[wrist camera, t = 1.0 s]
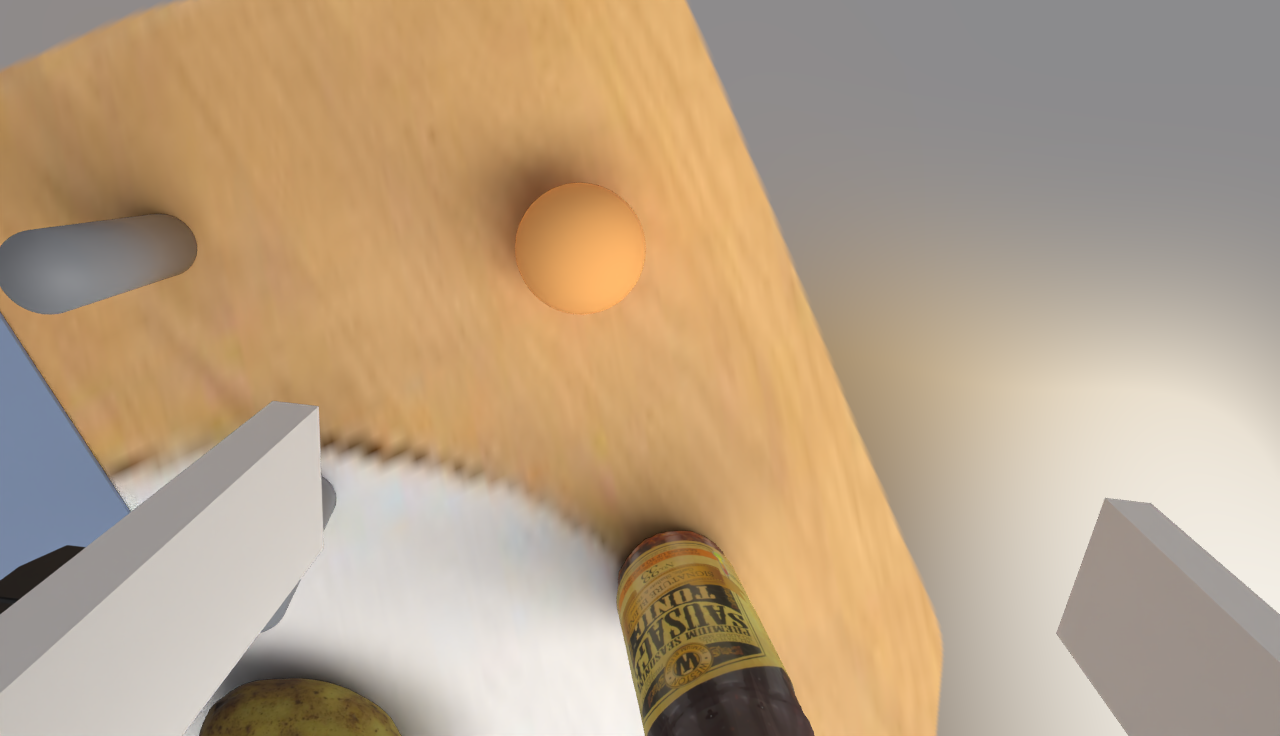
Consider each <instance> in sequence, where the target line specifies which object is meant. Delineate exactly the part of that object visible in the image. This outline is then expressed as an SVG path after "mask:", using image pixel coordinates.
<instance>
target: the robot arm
mask: <svg viewBox="0 0 1280 736" xmlns="http://www.w3.org/2000/svg"><path fill="white" fill-rule="evenodd" d="M323 549H324V540H323V512H322V484H321V456H320V428H319V406H312V405H303V404H295V403H286V402H277V401H272V402H271V403H270V404H268V405H267V406H266V407H264V408H263V409H262V410H261V411H259V412H258V413H257V414H255V415H254V416H253V417H252V418H250V419H249V420H248V421H247V422H245V423H244V424H243V425H241V426H240V427H239V428H238V429H236V430H235V431H234V432H232V433H231V434H230V435H229V436H227V437H226V438H225V439H224V440H222V441H221V442H220V443H218V444H217V445H216V446H215V447H213V448H212V449H211V450H210V451H208V452H207V453H206V454H204V455H203V456H202V457H201V458H199V459H198V460H197V461H195V462H194V463H193V464H192V465H190V466H189V467H188V468H187V469H185V470H184V471H183V472H181V473H180V474H179V475H178V476H176V477H175V478H174V479H173V480H171V481H170V482H169V483H167V484H166V485H165V486H164V487H162V488H161V489H160V490H158V491H157V492H156V493H155V494H153V495H152V496H151V497H150V498H148V499H147V500H146V501H144V502H143V503H142V504H141V505H139V506H138V507H137V508H135V509H134V510H133V511H132V512H130V513H129V514H128V515H127V516H125V517H124V518H123V519H121V520H120V521H119V522H118V523H116V524H115V525H114V526H113V527H111V528H110V529H109V530H107V531H106V532H105V533H104V534H102V535H101V536H100V537H98V538H97V539H96V540H95V541H93V542H92V543H91V544H90V545H88V546H87V547H80V546H71V545H66V546H64V547H61V548H59V549H57V550H55V551H53V552H50V553H48V554H46V555H44V556H41V557H39V558H37V559H35V560H33V561H30V562H28V563H26V564H24V565H21V566H19V567H18V568H16V569H15V570H14V571H12V572H11V573H10V574H8V575H7V576H5V577H4V578H3V579H1V580H0V736H182V735H183V734H184V733H185V731H186V730H187V729H188V727H189V726H190V725H191V724H192V722H193V721H194V720H195V718H196V717H197V716H198V714H199V713H200V712H201V710H202V709H203V708H204V706H205V705H206V704H207V702H208V701H209V700H210V698H211V697H212V696H213V694H214V693H215V692H216V690H217V689H218V688H219V686H220V685H221V684H222V682H223V681H224V680H225V679H226V677H227V676H228V675H229V673H230V672H231V671H232V669H233V668H234V667H235V665H236V664H237V663H238V661H239V660H240V659H241V657H242V656H243V655H244V653H245V652H246V651H247V649H248V648H249V647H250V645H251V644H252V643H253V641H254V640H255V639H256V637H257V636H258V635H259V634H260V632H261V631H262V630H263V628H264V627H265V626H266V624H267V623H268V622H269V620H270V619H271V618H272V616H273V615H274V614H275V612H276V611H277V610H278V608H279V607H280V606H281V604H282V603H283V602H284V600H285V599H286V598H287V596H288V595H289V594H290V592H291V591H292V590H293V589H294V587H295V586H296V585H297V583H298V582H299V581H300V579H301V578H302V577H303V575H304V574H305V573H306V571H307V570H308V569H309V567H310V566H311V565H312V563H313V562H314V561H315V559H316V558H317V557H318V555H319V554H320V553H321V551H322V550H323ZM1057 635H1058V637H1059V638H1060V639H1061V641H1062V642H1063V644H1064V645H1065V646H1066V648H1067V649H1068V651H1069V652H1070V654H1071V655H1072V656H1073V658H1074V659H1075V660H1076V662H1077V664H1078V665H1079V666H1080V668H1081V669H1082V671H1083V672H1084V673H1085V675H1086V676H1087V678H1088V679H1089V680H1090V682H1091V683H1092V685H1093V686H1094V687H1095V689H1096V690H1097V692H1098V693H1099V694H1100V696H1101V697H1102V699H1103V700H1104V701H1105V703H1106V704H1107V706H1108V707H1109V709H1110V710H1111V712H1112V713H1113V714H1114V716H1115V717H1116V719H1117V720H1118V721H1119V723H1120V724H1121V726H1122V727H1123V728H1124V730H1125V731H1126V733H1127V734H1128V736H1280V614H1279V613H1277V612H1276V611H1275V610H1274V609H1273V608H1272V607H1270V606H1269V605H1268V604H1267V603H1266V602H1265V601H1263V600H1262V599H1261V598H1260V597H1259V596H1258V595H1257V594H1255V593H1254V592H1253V591H1252V590H1251V589H1250V588H1248V587H1247V586H1246V585H1245V584H1244V583H1243V582H1241V581H1240V580H1239V579H1238V578H1237V577H1236V576H1235V575H1233V574H1232V573H1231V572H1230V571H1229V570H1228V569H1226V568H1225V567H1224V566H1223V565H1222V564H1221V563H1219V562H1218V561H1217V560H1216V559H1215V558H1214V557H1212V556H1211V555H1210V554H1209V553H1208V552H1206V550H1204V549H1203V548H1202V547H1201V546H1200V545H1199V544H1197V543H1196V542H1195V541H1194V540H1193V539H1192V538H1191V537H1189V536H1188V535H1187V534H1186V533H1185V532H1184V531H1182V530H1181V529H1180V528H1179V527H1178V526H1177V525H1175V524H1174V523H1173V522H1172V521H1171V520H1170V519H1169V518H1167V517H1166V516H1165V515H1164V514H1163V513H1161V512H1160V511H1159V510H1158V509H1157V508H1156V507H1154V506H1153V505H1152V504H1151V503H1144V502H1136V501H1127V500H1118V499H1109V498H1105V500H1104V503H1103V505H1102V508H1101V511H1100V514H1099V517H1098V519H1097V522H1096V525H1095V527H1094V530H1093V533H1092V536H1091V539H1090V542H1089V544H1088V547H1087V550H1086V552H1085V555H1084V558H1083V561H1082V564H1081V566H1080V569H1079V572H1078V575H1077V577H1076V580H1075V583H1074V586H1073V589H1072V591H1071V594H1070V597H1069V600H1068V602H1067V605H1066V608H1065V611H1064V614H1063V617H1062V619H1061V622H1060V625H1059V627H1058V630H1057Z"/></svg>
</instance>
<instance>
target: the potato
mask: <svg viewBox="0 0 1280 736" xmlns="http://www.w3.org/2000/svg"><path fill="white" fill-rule="evenodd" d="M199 736H402V735H401V734H400V733H399V731H398V729H397V727H396V726H395V724H394V722H393V721H392V719H391V718H390V717H389V715H388V714H387V713H386V712H385V711H384V710H382V709H381V708H380V707H379V706H378V705H376V704H375V703H373V702H371V701H370V700H368V699H366V698H365V697H363V696H361V695H359V694H357V693H355V692H353V691H351V690H349V689H347V688H344V687H341V686H338V685H335V684H332V683H328V682H324V681H319V680H312V679H298V678H292V679H267V680H258V681H252V682H249V683H246V684H243V685H240V686H239V687H237V688H236V689H234V690H233V691H231V692H230V693H228V694H227V695H226V696H224V697H223V698H222V699H220V700H219V701H218V702H216V703H215V704H214V705H213V706H212V707H211V709H210V710H209V712H208V714H207V716H206V718H205V720H204V723H203V725H202V728H201V730H200V734H199Z"/></svg>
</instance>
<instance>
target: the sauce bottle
mask: <svg viewBox="0 0 1280 736" xmlns="http://www.w3.org/2000/svg"><path fill="white" fill-rule="evenodd" d="M618 580H619V581H618V592H617V610H618V615H619V619H620V624H621V628H622V632H623V636H624V641H625V645H626V650H627V655H628V660H629V665H630V670H631V674H632V679H633V683H634V687H635V691H636V696H637V700H638V704H639V709H640V714H641V719H642V723H643V728H644V733H645V736H814V731H813V730H812V727H811V725H810V722H809V720H808V719H807V717H806V716H805V715H804V713H803V711H802V708H801V706H800V705H799V703H798V700H797V698H796V696H795V692H794V688H793V684H792V682H791V680H790V678H789V676H788V674H787V672H786V670H785V668H784V666H783V664H782V662H781V660H780V658H779V656H778V654H777V652H776V650H775V648H774V646H773V644H772V642H771V641H770V639H769V637H768V635H767V633H766V631H765V629H764V627H763V625H762V623H761V621H760V619H759V617H758V615H757V613H756V611H755V609H754V607H753V606H752V604H751V602H750V600H749V598H748V596H747V594H746V592H745V590H744V588H743V586H742V584H741V582H740V580H739V578H738V576H737V574H736V572H735V570H734V568H733V566H732V565H731V563H730V562H729V561H728V560H727V558H726V557H725V556H724V554H723V552H722V551H721V550H720V549H719V548H718V547H717V546H716V544H715V543H713V542H712V541H710V540H709V539H708V538H706V537H705V536H702V535H700V534H697V533H694V532H692V531H669V532H664V533H658V534H656V535H654V536H653V537H650V538H647V539H645V540H644V541H643V542H642V543H641V544H640V545H638V546H637V547H636V548H635V549H634V550H633V551H632V553H631V554H630V555H629V557H628V558H627V559H626V562H625V563H624V564H623V567H622V568H621V570H620V571H619V577H618Z"/></svg>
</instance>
